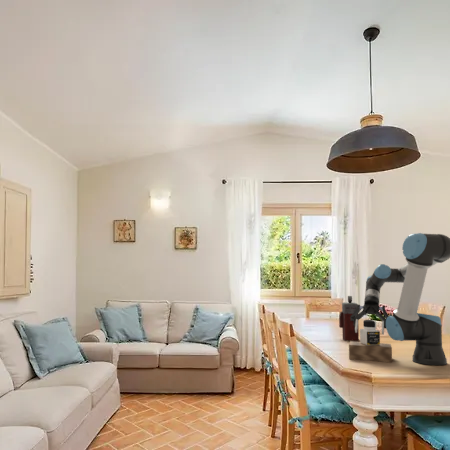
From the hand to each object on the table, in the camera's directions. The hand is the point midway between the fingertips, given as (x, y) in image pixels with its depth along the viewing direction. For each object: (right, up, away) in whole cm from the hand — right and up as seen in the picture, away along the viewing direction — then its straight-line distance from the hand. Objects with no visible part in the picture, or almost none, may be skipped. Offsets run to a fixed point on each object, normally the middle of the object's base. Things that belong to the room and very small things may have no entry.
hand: (369, 331), depth 216 cm
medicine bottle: (+1, -7, +2) cm, 7 cm away
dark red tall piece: (+8, -21, +63) cm, 67 cm away
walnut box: (+1, -14, +1) cm, 14 cm away
